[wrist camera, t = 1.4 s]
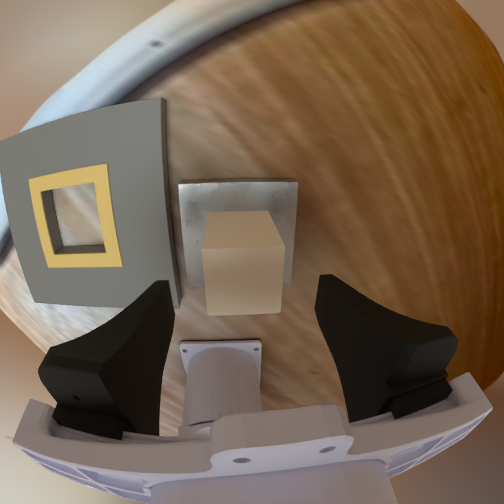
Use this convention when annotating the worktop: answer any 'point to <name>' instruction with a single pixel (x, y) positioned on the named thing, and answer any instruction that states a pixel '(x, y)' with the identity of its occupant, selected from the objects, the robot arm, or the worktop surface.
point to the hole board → (108, 202)
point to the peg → (242, 263)
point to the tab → (235, 199)
